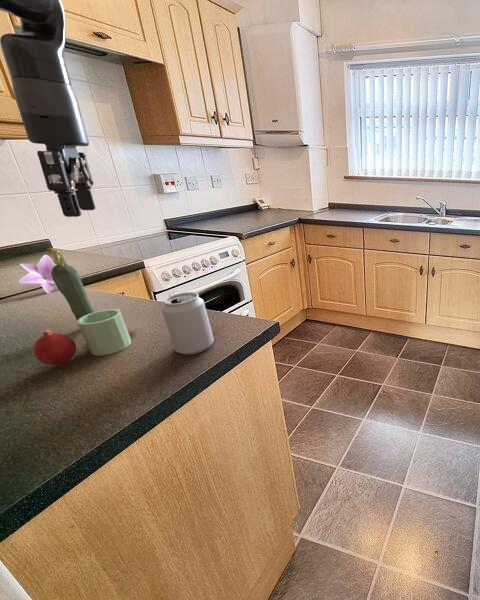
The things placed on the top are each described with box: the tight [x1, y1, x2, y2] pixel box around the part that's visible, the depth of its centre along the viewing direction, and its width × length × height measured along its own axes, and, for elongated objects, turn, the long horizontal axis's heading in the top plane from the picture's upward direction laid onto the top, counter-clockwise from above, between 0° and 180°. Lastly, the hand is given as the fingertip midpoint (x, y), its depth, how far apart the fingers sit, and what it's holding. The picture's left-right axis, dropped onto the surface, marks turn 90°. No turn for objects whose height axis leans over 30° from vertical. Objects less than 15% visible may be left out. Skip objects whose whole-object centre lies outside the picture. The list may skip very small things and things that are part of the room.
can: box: [161, 291, 215, 356], centre depth 71 cm, size 8×8×12 cm
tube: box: [76, 308, 132, 357], centre depth 72 cm, size 7×7×8 cm
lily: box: [18, 254, 56, 294], centre depth 104 cm, size 12×12×10 cm
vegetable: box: [47, 247, 95, 321], centre depth 78 cm, size 4×4×20 cm
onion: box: [32, 329, 77, 367], centre depth 66 cm, size 6×6×8 cm
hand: (81, 213), depth 62 cm, fingers open, 8 cm apart
